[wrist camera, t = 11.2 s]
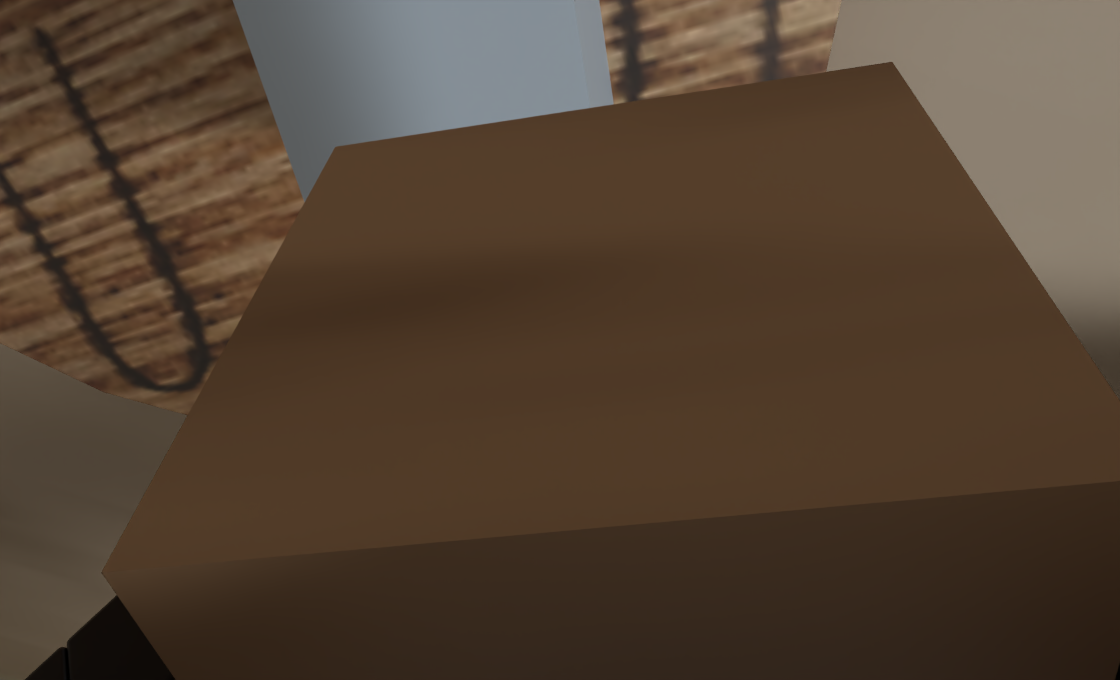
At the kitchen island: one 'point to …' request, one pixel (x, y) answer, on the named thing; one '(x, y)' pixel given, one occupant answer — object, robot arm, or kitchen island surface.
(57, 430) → the kitchen island surface
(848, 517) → the walnut block
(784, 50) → the trivet
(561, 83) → the slate block
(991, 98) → the kitchen island surface
